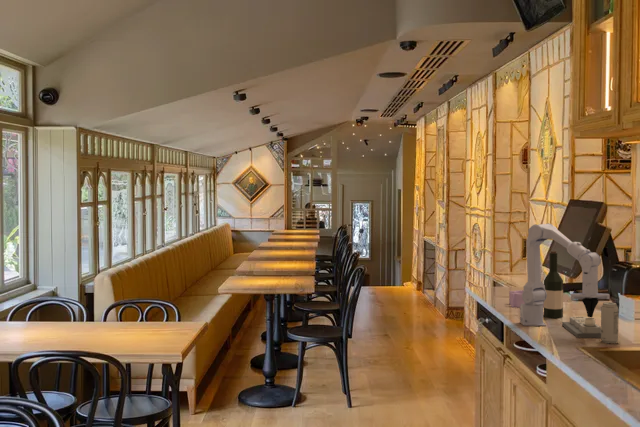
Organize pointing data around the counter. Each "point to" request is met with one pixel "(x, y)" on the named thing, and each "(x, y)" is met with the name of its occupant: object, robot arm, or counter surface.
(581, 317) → the knob
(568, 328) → the mount board
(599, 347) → the counter surface
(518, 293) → the pink rectangular box
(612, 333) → the energy drink can
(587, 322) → the knob
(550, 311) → the wine bottle
